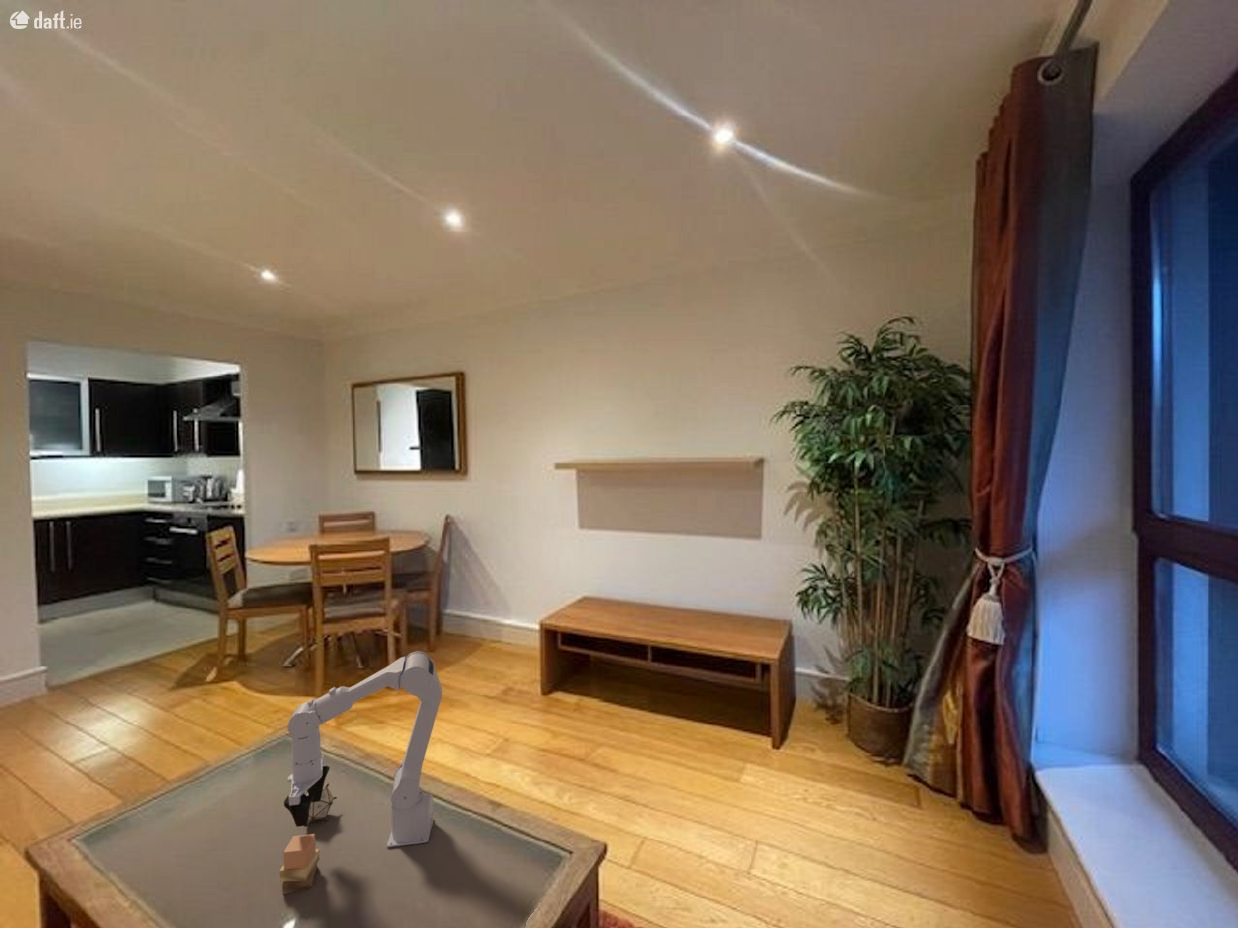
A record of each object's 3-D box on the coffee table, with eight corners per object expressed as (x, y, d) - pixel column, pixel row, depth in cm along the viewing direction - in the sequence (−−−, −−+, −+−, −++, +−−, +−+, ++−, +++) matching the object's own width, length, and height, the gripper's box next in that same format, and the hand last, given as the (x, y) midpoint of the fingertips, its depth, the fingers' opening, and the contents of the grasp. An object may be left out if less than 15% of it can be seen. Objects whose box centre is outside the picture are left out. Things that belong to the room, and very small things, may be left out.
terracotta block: (315, 850, 117) (314, 833, 116) (306, 867, 112) (305, 849, 112) (294, 852, 116) (293, 835, 116) (283, 869, 112) (283, 852, 111)
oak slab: (319, 859, 117) (319, 848, 117) (306, 880, 112) (305, 869, 112) (294, 860, 117) (294, 849, 117) (279, 881, 112) (279, 870, 111)
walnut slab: (317, 867, 118) (316, 857, 118) (311, 887, 113) (311, 876, 113) (289, 874, 116) (288, 864, 116) (282, 895, 111) (282, 884, 111)
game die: (319, 836, 131) (312, 824, 125) (292, 820, 133) (284, 807, 126) (346, 800, 138) (341, 786, 132) (320, 785, 140) (313, 771, 133)
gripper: (301, 739, 126) (303, 792, 127) (272, 779, 112) (275, 838, 113) (332, 736, 127) (334, 789, 128) (307, 775, 113) (310, 834, 114)
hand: (308, 812), depth 121 cm, fingers open, 7 cm apart
